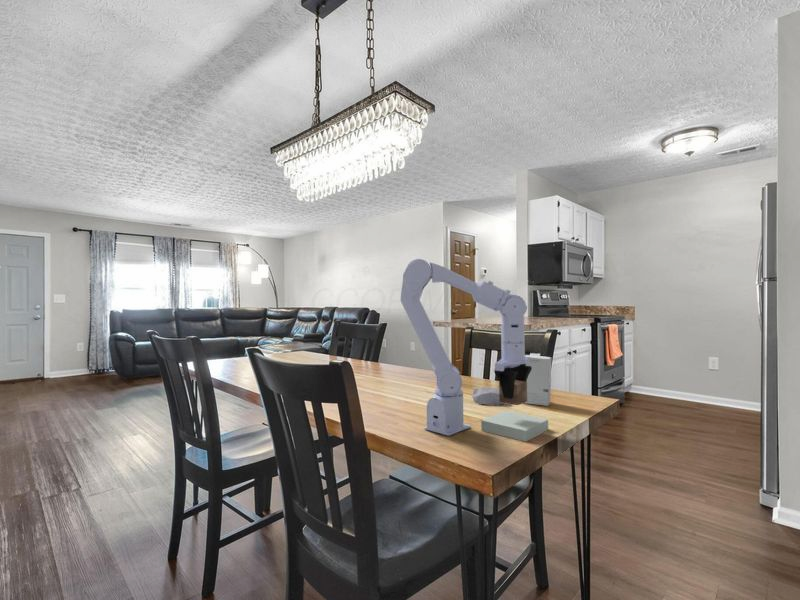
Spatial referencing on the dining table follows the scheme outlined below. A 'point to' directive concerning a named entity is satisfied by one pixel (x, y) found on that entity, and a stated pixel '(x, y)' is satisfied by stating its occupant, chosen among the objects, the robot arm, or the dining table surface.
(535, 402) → the skincare box
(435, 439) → the dining table surface
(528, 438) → the sage board block
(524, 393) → the walnut cube
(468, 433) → the dining table surface
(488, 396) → the stone block
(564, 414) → the dining table surface
